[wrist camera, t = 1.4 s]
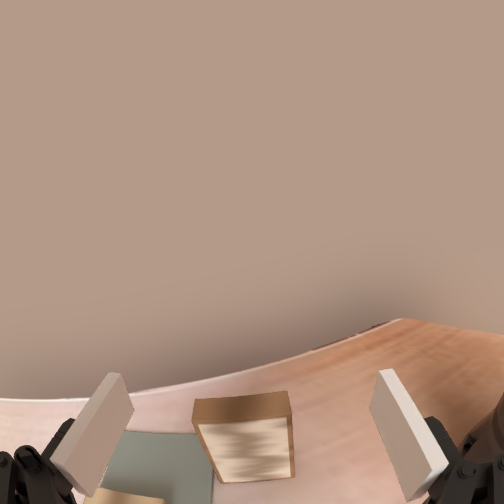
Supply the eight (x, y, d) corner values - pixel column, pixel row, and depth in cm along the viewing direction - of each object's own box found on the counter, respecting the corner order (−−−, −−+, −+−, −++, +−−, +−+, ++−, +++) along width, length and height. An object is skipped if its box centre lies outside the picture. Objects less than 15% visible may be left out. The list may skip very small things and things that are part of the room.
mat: (215, 435, 34) (215, 433, 34) (208, 559, 15) (207, 558, 14) (122, 432, 34) (121, 430, 34) (87, 534, 15) (85, 533, 14)
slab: (291, 459, 28) (287, 390, 25) (295, 477, 25) (291, 413, 22) (221, 465, 28) (195, 399, 25) (220, 484, 25) (191, 421, 22)
